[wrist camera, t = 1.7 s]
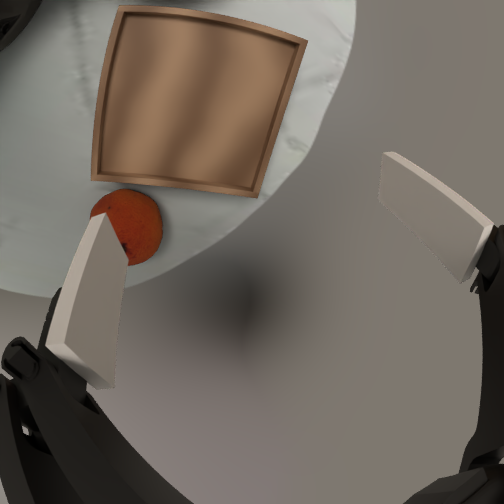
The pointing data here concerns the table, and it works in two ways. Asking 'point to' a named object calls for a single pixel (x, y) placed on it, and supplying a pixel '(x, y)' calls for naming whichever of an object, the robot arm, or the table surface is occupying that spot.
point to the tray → (191, 99)
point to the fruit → (132, 222)
